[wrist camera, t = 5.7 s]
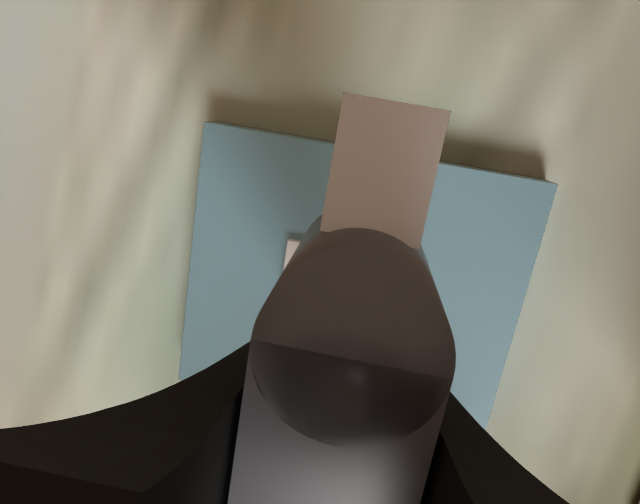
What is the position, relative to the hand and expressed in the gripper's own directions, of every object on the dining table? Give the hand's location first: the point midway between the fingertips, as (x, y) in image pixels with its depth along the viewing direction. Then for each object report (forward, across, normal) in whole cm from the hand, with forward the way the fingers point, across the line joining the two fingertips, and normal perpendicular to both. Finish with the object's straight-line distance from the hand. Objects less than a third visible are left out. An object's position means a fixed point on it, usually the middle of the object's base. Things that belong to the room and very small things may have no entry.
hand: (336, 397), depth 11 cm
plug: (+2, 0, -1) cm, 2 cm away
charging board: (+8, 0, 0) cm, 8 cm away
